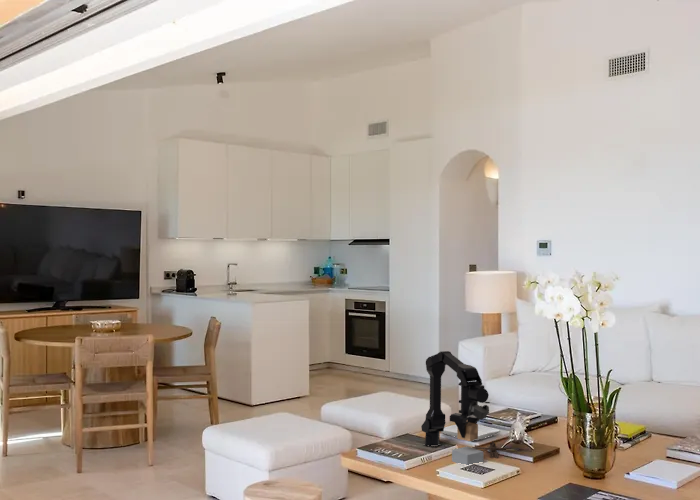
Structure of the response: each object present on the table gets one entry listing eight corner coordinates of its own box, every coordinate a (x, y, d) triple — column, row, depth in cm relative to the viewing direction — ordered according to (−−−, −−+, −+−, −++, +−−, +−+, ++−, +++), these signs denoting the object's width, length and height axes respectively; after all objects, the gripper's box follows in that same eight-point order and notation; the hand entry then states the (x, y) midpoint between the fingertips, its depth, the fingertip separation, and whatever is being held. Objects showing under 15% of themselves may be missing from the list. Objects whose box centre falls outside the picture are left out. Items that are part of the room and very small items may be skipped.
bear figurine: (472, 450, 298) (472, 438, 313) (472, 460, 299) (471, 447, 313) (516, 452, 296) (513, 440, 310) (515, 462, 296) (513, 449, 310)
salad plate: (465, 428, 348) (465, 421, 348) (501, 436, 333) (501, 429, 333) (437, 435, 334) (437, 428, 334) (473, 444, 318) (473, 437, 318)
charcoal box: (467, 458, 297) (467, 446, 297) (483, 463, 290) (483, 451, 290) (451, 461, 292) (452, 449, 292) (467, 467, 285) (467, 455, 285)
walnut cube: (465, 435, 295) (465, 421, 295) (477, 438, 291) (477, 423, 291) (457, 438, 291) (457, 424, 291) (470, 441, 287) (470, 426, 287)
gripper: (472, 404, 279) (472, 444, 279) (496, 397, 293) (496, 435, 293) (448, 400, 286) (448, 439, 286) (473, 393, 300) (473, 430, 300)
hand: (467, 436), depth 291 cm, fingers closed on walnut cube, 6 cm apart
